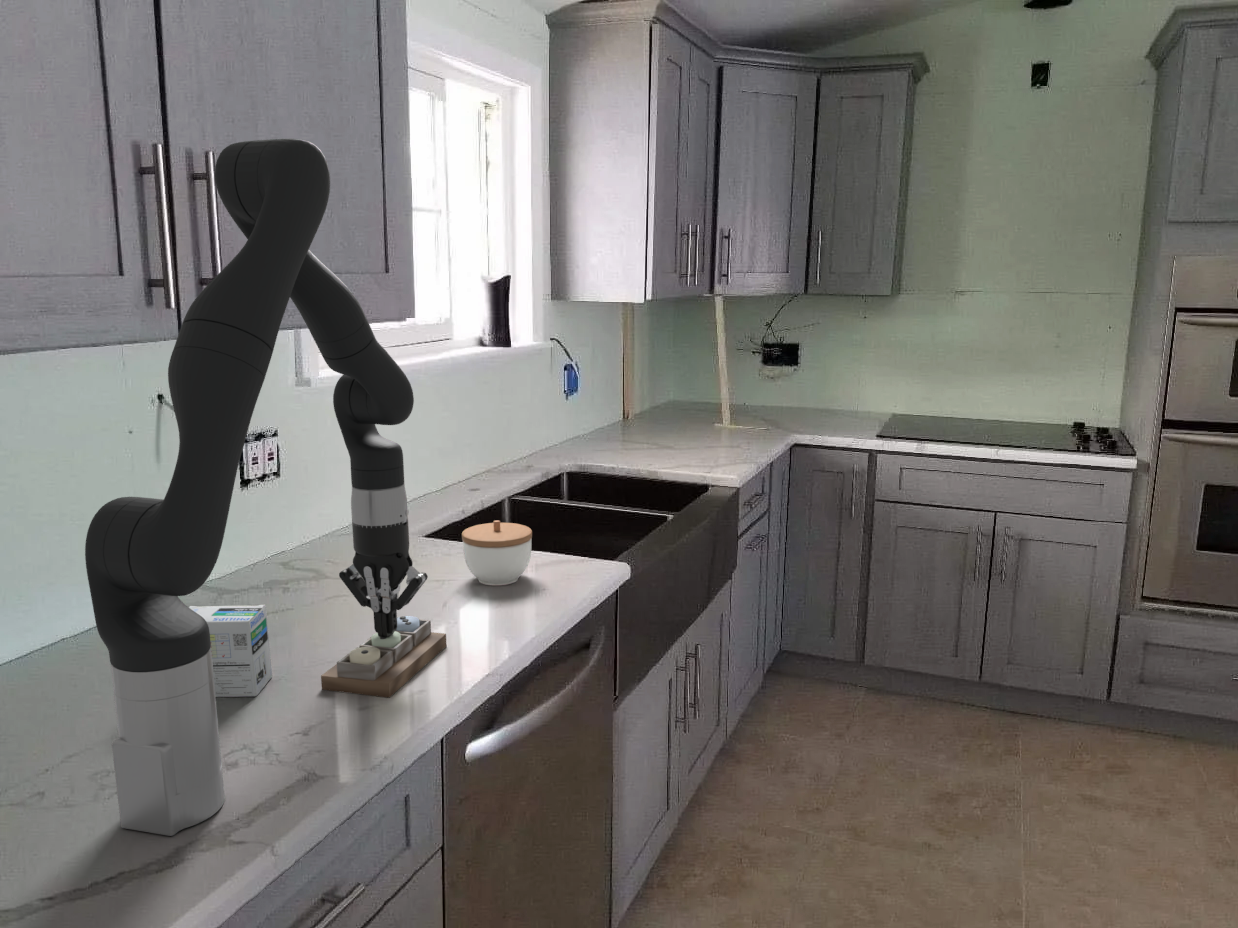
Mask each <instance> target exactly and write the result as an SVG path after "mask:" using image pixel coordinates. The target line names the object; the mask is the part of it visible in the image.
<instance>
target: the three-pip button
mask: <svg viewBox="0 0 1238 928" xmlns="http://www.w3.org/2000/svg"><path fill="white" fill-rule="evenodd" d="M397 617H398V618H397V630H396V631H405V632H414V631H415V630H416V629H418V628H419V627H420V624H419V617H417V616H412V615H408V616H407V615H406V616H405V615H404V616H397Z"/></svg>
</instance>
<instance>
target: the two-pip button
mask: <svg viewBox="0 0 1238 928" xmlns="http://www.w3.org/2000/svg"><path fill="white" fill-rule="evenodd" d="M371 639H372V646H379V647H389V648H394V647H395V646H397V645H398V644H399V643H400V642H401V635H400V633H399V632H396V631H395V632H394V633H393V634H392V635H391V636H390V637H379V636H378V633H377V632H376V633H374V634H372V635H371Z"/></svg>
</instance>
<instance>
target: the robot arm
mask: <svg viewBox="0 0 1238 928" xmlns="http://www.w3.org/2000/svg"><path fill="white" fill-rule="evenodd" d="M214 167H215V168H214V181H215V186H216V189H217V193H218V196H219V198H220V200H221V202H222V204H223V206H224V208H225V209H226V211H227V213H228V214H229V216H230V217H231V218H232V221H234V223H235V225H236V226H237V227H238V229H239V230H240V231H241V233H242V234H243V236H244V237H246V239H247V241H246V242H245V243H244V245H243V246H242V248H241V249H240V251H239V252H238V253H237V254H236V255H235V256H234V257H233V258H232V260H230V261H229V262H228V264H226V266H224V268H222V270H221V271H220V272H219V273H218V274H216V276H215V277H214V278H213V279H212V280H211V281H210V282H208V284H207V285H206V286H205V287H204V288H203V290H201V291H200V292H199V294H198V295H197V297H196V298H195V299H194V300H193V301H192V303H191V305H190V306H189V308H188V310H187V312H186V314H185V315H184V319H183V320H182V322H181V326H180V329H179V332H178V335H177V338H176V341H175V344H174V347H173V350H172V352H171V355H170V358H169V363H168V368H167V379H168V388H169V394H170V398H171V399H170V400H171V404H172V409H173V410H174V415H175V420H176V423H177V429H178V435H179V437H178V438H179V444H178V453H177V454H178V455H177V460H176V462H175V467H174V470H173V474H172V476H171V477H172V478H171V481H170V482H169V486H168V489H167V491H166V493H165V496H164V498H151V497H141V496H121V497H118V498H114V499H112V500H110V501H108V502H106V503H104V505H102V506H101V507H100V508H99V509H98V511H96V513H95V514H94V516H93V517H92V519H91V521H90V524H89V525H88V528H87V532H86V536H85V538H86V539H85V542H84V543H85V545H84V546H85V547H84V551H85V552H84V559H85V568H86V576H87V581H88V586H89V592H90V597H91V604H92V610H93V613H94V614H93V615H94V620H95V625H96V629H97V632H98V635H99V637H100V639H101V641H102V642H103V644H104V645H105V646H106V649H107V651H108V655H109V662H110V671H111V678H112V688H113V697H114V706H115V707H114V708H115V716H116V723H117V724H116V725H117V732H118V737H117V738H115V739H114V740H113V741H112V742H111V750H112V751H111V753H112V758H113V759H112V760H113V768H114V777H115V787H116V794H117V795H116V796H117V803H118V804H117V805H118V810H119V819H120V827H121V828H122V829H126V830H133V831H139V832H143V833H144V832H145V833H151V834H157V835H162V836H169V837H170V836H171V837H173V836H174V835H176V834H177V833H178V832H180V831H181V830H184V829H186V828H189V827H193V826H196V825H198V824H200V823H203V822H204V821H206V820H207V819H209V818H211V817H212V816H214V815H215V814H216V813H217V812H218V811H220V809H221V808H222V806H223V804H224V803H225V799H226V798H225V787H224V786H225V785H224V774H223V765H222V753H221V743H220V734H219V733H220V732H219V720H218V710H217V700H216V698H217V697H215V686H214V675H213V663H212V652H211V641H210V631H209V627H208V624H207V622H206V621H205V619H204V618H203V617H202V616H200V615H199V614H197V613H196V612H194V611H193V610H191V609H190V608H189V607H188V606H187V605H186V603H184V602H183V601H182V600H181V599H180V597H183V596H188V595H190V594H193V593H194V592H196V591H197V590H198V589H200V587H202V586H203V585H204V584H205V583H206V581H207V580H208V578H210V576H211V573H212V572H213V570H214V568H215V566H216V564H217V561H218V559H219V556H220V551H221V550H222V549H221V548H222V544H223V541H224V538H225V536H224V535H225V532H226V527H227V522H228V517H229V512H230V507H231V503H232V502H231V501H232V497H233V492H234V488H235V481H236V478H237V473H238V469H239V465H240V460H241V456H242V452H243V449H244V445H245V442H246V438H247V435H248V431H249V428H250V423H251V420H252V416H253V415H254V411H255V408H256V404H257V401H258V399H259V396H260V393H261V390H262V387H263V385H264V382H265V379H266V375H267V374H268V373H267V372H268V368H269V367H270V364H271V360H272V357H273V353H274V350H275V349H274V348H275V345H276V342H277V339H278V334H279V331H280V327H281V324H282V320H283V317H284V315H285V312H286V309H287V307H288V304H289V301H290V300H291V301H292V303H293V304H294V305H295V307H296V309H297V311H298V312H299V314H300V315H301V318H302V319H303V321H304V324H306V326H307V329H308V330H309V333H310V334H311V337H312V338H313V341H314V342H315V344H316V346H317V348H318V350H319V352H320V354H321V356H322V358H323V360H324V362H325V364H326V365H327V367H329V369H331V370H332V371H334V372H336V373H337V374H340V375H341V377H339V379H338V380H337V382H336V384H335V386H334V389H333V396H332V397H333V398H332V400H333V401H332V405H333V410H334V414H335V417H336V420H337V423H338V425H339V429H340V431H341V434H342V438H343V441H344V443H345V446H346V449H347V451H348V455H349V459H350V460H349V461H350V462H349V463H350V480H351V498H350V511H351V525H352V526H351V528H352V542H353V546H352V547H353V550H354V552H355V553H354V557H353V558H352V564H351V565H350V566H348V567H347V568H345V569H343V570H342V571H340V572H339V573H338V576H339V578H340V580H341V581H342V582H343V583H344V585H345V586H346V587H347V590H349V591H350V593H351V594H352V595H353V597H354V598H355V599H356V601H357V602H358V604H359V605H360V606H361V607H362V608H363V607H364V608H366V607H368V608H370V609H371V611H372V612H373V625H374V627H373V628H374V631H375V632H376V633H377V632H378V636H379V637H390V636H391V635H392V634H393V633H394V632H395V631H396V630H397V617H398V613H397V612H398V611H401V610H402V609H403V607H405V606H407V605H409V603H410V602H411V601H412V599H413V598H414V597H415V595H416V594H417V593H418V591H420V589H421V588H422V586H424V584H425V582H426V581H427V580H428V574H427V573H426V572H423V571H422V572H420V571H418V570H417V569H416V568H415V567H414V566H413V564H414V563H413V560H412V558H411V556H410V553H409V550H410V533H409V531H410V530H409V527H410V526H409V508H408V507H409V506H408V497H407V496H408V495H407V491H406V486H405V485H406V484H405V470H404V469H405V467H404V464H405V463H404V453H403V448H402V446H401V445H400V444H399V443H397V442H395V441H392V440H390V439H388V438H385V437H384V436H382V435H381V434H380V432H379V431H378V429H377V426H376V425H381V426H396V425H400V424H402V423H404V422H405V421H406V420H408V418H409V417H410V416H411V414H412V412H413V408H414V403H415V400H414V398H415V397H414V390H413V388H412V385H411V382H410V380H409V378H408V377H407V375H406V374H405V372H404V371H403V370H402V368H401V367H400V366H399V365H398V363H397V362H396V361H395V359H393V357H392V355H390V354H389V353H388V350H386V349H385V348H384V347H383V346H382V345H381V344H380V343H379V342H378V340H377V338H376V336H375V334H374V332H373V330H372V327H371V324H370V322H369V321H368V319H367V316H366V314H365V312H364V308H363V307H362V306H361V303H360V302H359V300H358V299H357V298H356V296H355V294H354V293H353V292H352V291H351V289H350V288H349V286H347V285H346V284H345V283H344V282H343V281H342V280H341V279H340V278H339V277H338V276H337V275H336V274H335V273H334V272H333V271H332V270H331V269H329V267H327V266H326V265H325V264H324V263H322V261H321V260H320V259H318V257H317V256H316V255H315V254H313V252H312V251H311V250H310V247H311V245H312V243H313V241H314V239H315V236H316V234H317V232H318V229H319V228H320V225H321V223H322V220H323V217H324V214H325V212H326V209H327V206H328V202H329V198H330V194H331V193H330V192H331V173H330V172H331V171H330V169H329V164H328V161H327V159H326V157H325V155H324V153H323V152H322V150H321V149H320V148H319V147H318V146H317V145H315V144H314V143H313V142H311V141H308V140H305V139H298V138H274V139H273V138H272V139H259V140H247V141H246V140H245V141H239V142H235V143H232V144H228V146H226V147H224V148H223V149H222V150H221V152H220V153H219V155H218V157H217V159H216V161H215V166H214ZM406 577H407V578H406ZM405 578H406V582H405V583H406V585H407V586H406V587H405V589H404V590H403V591H402V592H401V594H399V593H400V591H401V583H402V582H403V581H404V579H405Z"/></svg>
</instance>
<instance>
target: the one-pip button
mask: <svg viewBox="0 0 1238 928" xmlns="http://www.w3.org/2000/svg"><path fill="white" fill-rule="evenodd" d="M356 648H357V647H356ZM356 648H354V649H352V650H351V651H350V652H349V653H350V663H358V664H367V665H373V664H374V663H375V662H377V661H378V660H379V659H380V650H379V649H378V648H376V647H361V648H357V649H356Z"/></svg>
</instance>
